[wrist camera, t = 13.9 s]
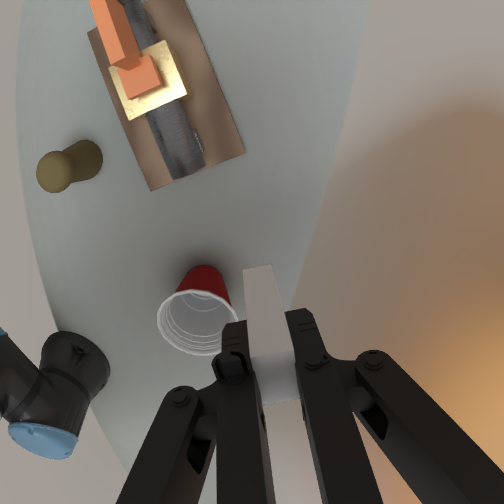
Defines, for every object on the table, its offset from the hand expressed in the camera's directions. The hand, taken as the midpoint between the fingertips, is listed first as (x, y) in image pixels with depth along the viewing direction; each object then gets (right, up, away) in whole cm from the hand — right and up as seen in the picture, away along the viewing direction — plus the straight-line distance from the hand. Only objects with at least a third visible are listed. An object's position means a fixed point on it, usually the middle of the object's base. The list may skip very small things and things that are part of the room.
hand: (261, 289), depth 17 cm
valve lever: (-14, +26, +10) cm, 31 cm away
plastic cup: (-8, -3, +34) cm, 35 cm away
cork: (-25, +16, +25) cm, 39 cm away
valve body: (-12, +24, +20) cm, 34 cm away
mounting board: (-12, +24, +22) cm, 35 cm away
